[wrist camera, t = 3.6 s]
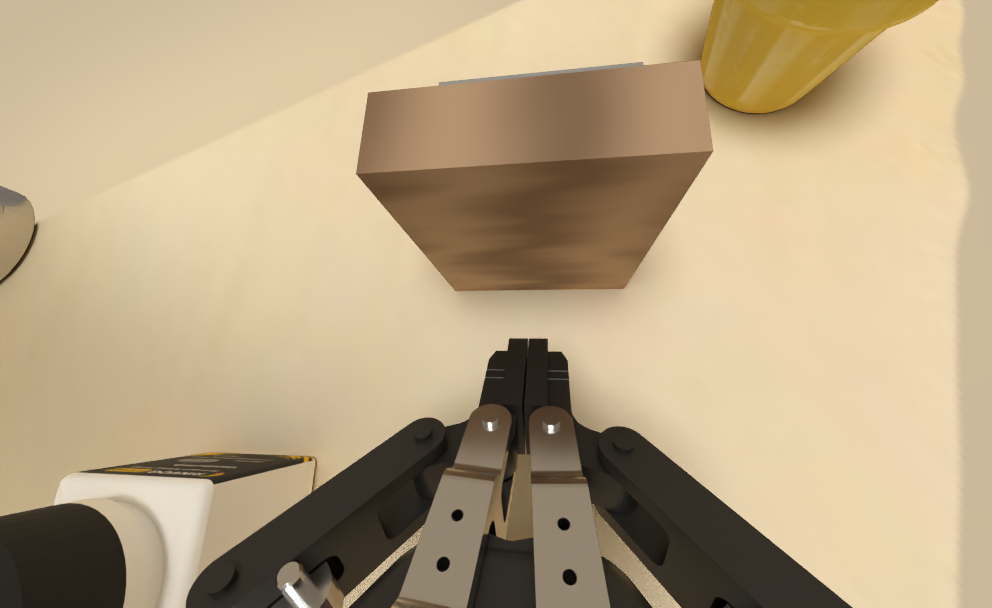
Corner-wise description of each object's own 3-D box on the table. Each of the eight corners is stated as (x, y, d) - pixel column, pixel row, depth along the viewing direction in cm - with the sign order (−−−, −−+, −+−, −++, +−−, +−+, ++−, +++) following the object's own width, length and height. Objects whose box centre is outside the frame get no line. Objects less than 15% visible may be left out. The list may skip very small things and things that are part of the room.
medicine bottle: (319, 455, 21) (38, 519, 9) (299, 601, 19) (-79, 902, 8) (210, 451, 22) (-161, 504, 10) (182, 589, 20) (-308, 837, 9)
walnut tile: (455, 290, 22) (356, 173, 11) (458, 243, 23) (368, 88, 12) (623, 288, 21) (713, 150, 9) (620, 238, 22) (699, 55, 10)
